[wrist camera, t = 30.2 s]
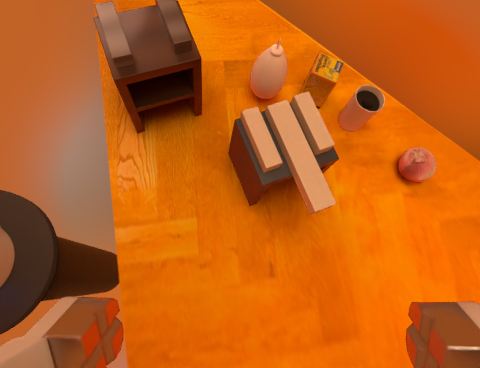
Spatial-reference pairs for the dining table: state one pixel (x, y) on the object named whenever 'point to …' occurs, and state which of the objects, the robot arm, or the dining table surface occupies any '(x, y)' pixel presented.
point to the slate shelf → (253, 168)
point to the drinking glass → (361, 107)
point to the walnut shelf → (150, 56)
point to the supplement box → (322, 78)
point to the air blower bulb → (269, 72)
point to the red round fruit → (417, 164)
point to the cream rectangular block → (299, 157)
